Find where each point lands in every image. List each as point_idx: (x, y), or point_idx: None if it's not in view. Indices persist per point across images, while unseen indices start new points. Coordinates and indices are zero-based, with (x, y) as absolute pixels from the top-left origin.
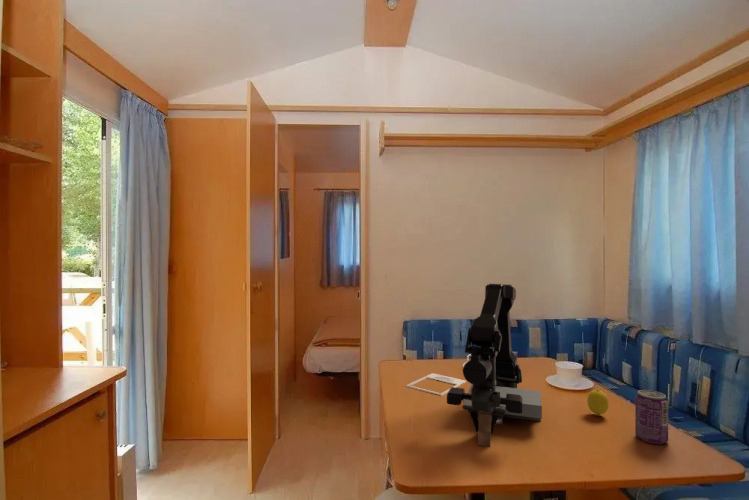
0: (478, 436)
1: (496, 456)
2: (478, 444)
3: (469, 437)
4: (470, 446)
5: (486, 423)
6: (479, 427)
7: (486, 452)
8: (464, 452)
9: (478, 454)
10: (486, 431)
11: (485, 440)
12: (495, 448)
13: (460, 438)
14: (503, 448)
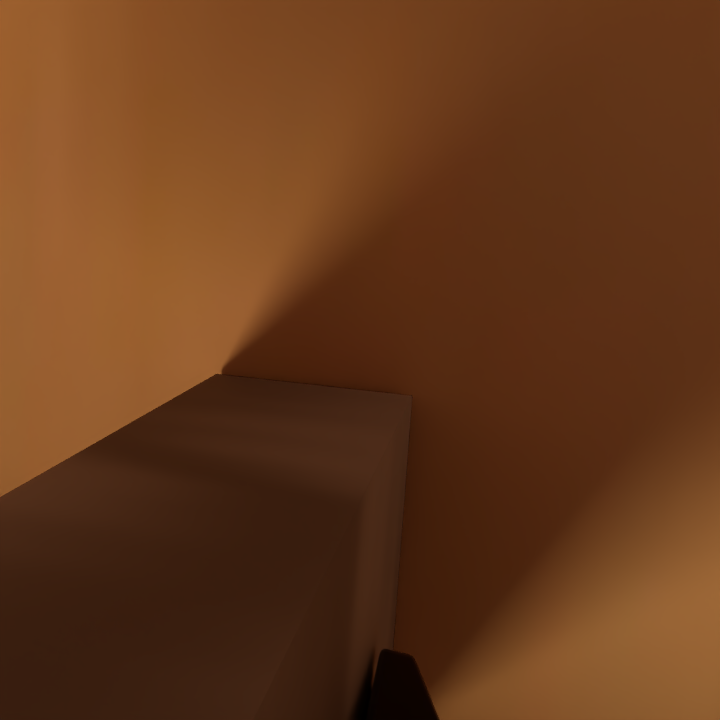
0: (384, 448)
1: (132, 49)
2: (404, 395)
3: (532, 648)
4: (553, 340)
5: (16, 595)
6: (315, 547)
7: (288, 163)
8: (706, 81)
9: (435, 56)
10: (160, 479)
11: (261, 409)
12: (140, 329)
13: (702, 608)
14: (27, 346)
